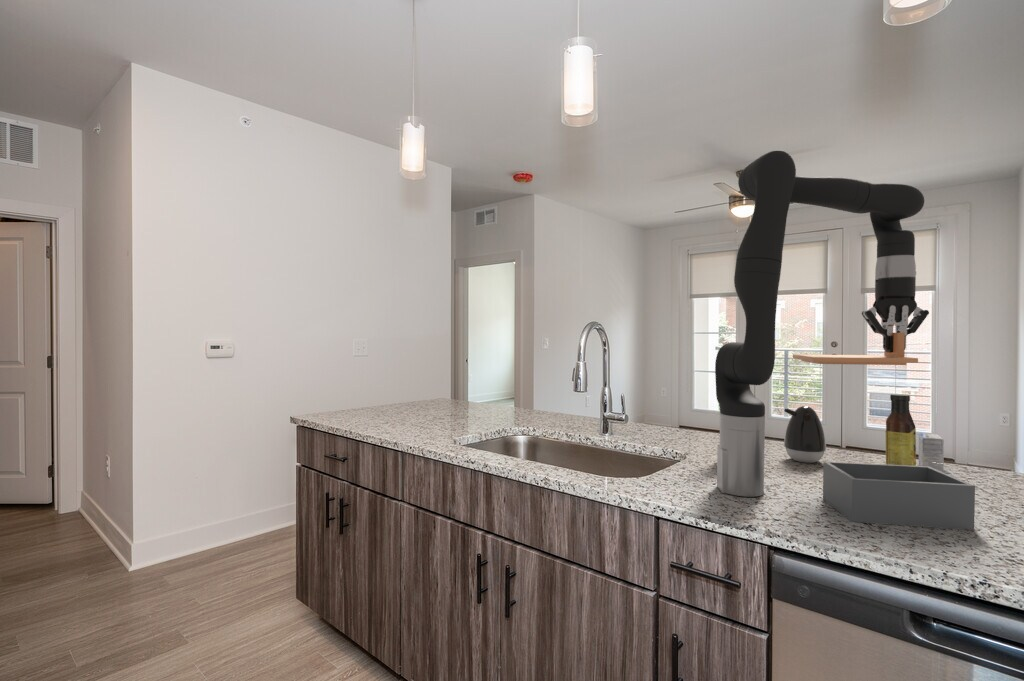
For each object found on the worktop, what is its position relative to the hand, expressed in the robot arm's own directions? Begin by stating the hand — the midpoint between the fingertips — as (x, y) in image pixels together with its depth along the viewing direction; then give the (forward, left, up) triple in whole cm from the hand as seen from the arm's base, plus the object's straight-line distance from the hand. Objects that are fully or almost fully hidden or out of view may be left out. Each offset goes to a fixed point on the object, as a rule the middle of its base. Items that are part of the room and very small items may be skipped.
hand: (894, 352), depth 121 cm
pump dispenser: (-11, +23, -31) cm, 41 cm away
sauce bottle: (+9, +15, -31) cm, 36 cm away
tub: (-9, -20, -31) cm, 38 cm away
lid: (-9, 0, -2) cm, 9 cm away
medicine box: (+19, +21, -31) cm, 42 cm away
